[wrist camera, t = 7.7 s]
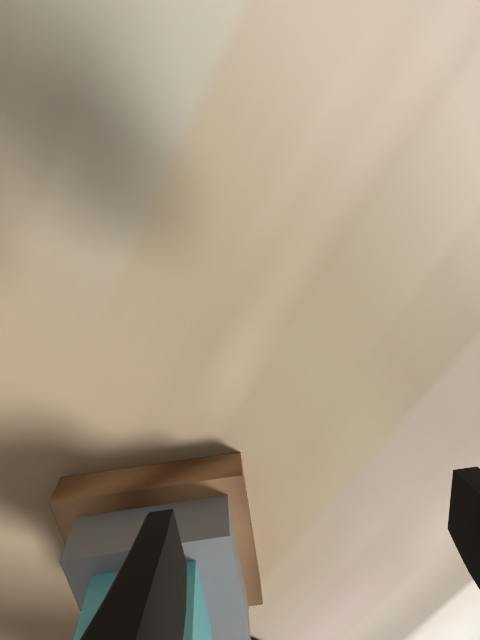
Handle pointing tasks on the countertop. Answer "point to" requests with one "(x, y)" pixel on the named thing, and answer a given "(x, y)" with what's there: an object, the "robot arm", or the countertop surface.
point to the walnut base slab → (164, 498)
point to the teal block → (196, 609)
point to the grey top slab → (198, 545)
